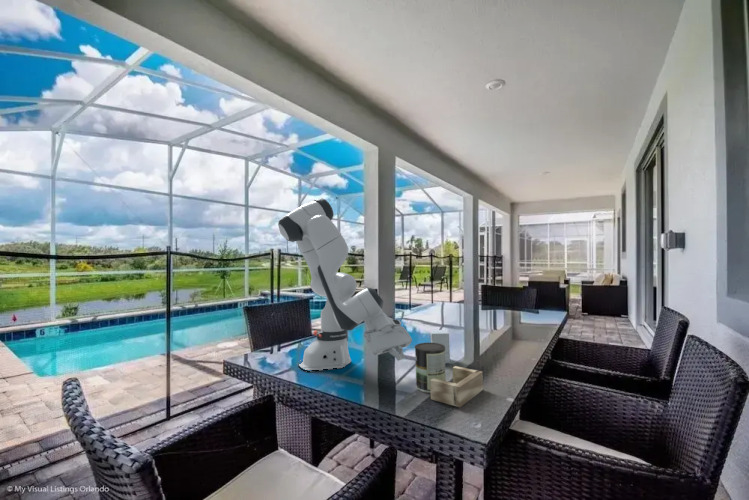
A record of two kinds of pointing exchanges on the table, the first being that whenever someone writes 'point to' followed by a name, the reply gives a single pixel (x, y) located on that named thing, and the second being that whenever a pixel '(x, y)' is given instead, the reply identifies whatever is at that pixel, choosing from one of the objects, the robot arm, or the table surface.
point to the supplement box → (442, 341)
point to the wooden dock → (457, 387)
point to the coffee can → (429, 364)
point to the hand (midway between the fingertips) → (401, 359)
